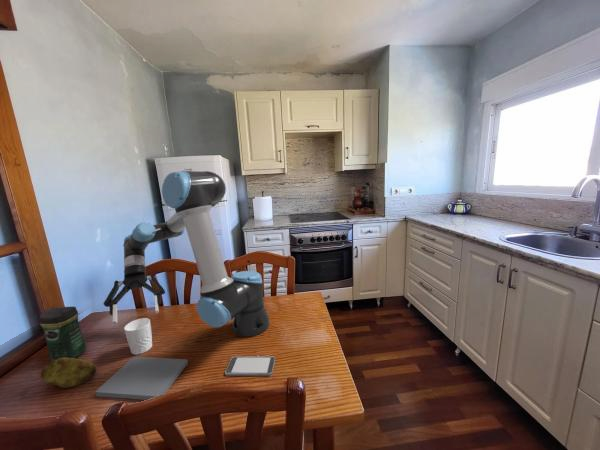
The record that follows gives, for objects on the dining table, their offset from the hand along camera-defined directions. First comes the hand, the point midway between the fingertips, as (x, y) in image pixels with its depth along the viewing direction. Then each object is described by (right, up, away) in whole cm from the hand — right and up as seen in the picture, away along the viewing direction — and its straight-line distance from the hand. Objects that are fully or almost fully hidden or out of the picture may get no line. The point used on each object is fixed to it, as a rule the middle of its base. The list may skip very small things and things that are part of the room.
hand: (136, 317), depth 92 cm
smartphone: (+47, -11, -14) cm, 50 cm away
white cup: (+4, -11, -3) cm, 12 cm away
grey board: (+14, -13, -17) cm, 25 cm away
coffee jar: (-22, -12, -4) cm, 25 cm away
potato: (-9, -14, -17) cm, 24 cm away
